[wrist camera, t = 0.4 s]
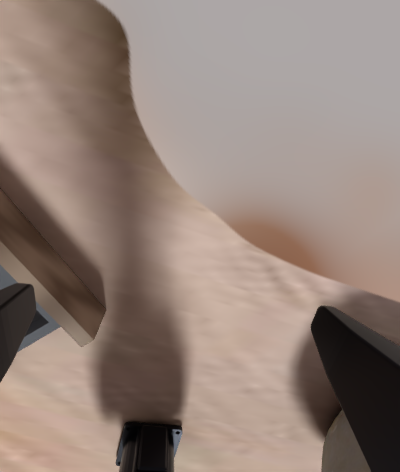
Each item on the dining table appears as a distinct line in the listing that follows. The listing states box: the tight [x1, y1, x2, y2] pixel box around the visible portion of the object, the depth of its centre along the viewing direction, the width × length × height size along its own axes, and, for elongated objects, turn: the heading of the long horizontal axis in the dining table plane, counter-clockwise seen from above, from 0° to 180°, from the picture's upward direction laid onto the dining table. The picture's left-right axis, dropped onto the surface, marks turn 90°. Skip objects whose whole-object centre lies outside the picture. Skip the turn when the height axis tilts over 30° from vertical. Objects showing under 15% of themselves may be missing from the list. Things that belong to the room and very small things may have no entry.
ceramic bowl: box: [321, 410, 371, 472], centre depth 28 cm, size 22×23×10 cm
